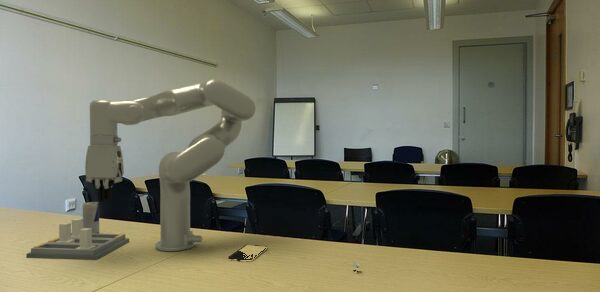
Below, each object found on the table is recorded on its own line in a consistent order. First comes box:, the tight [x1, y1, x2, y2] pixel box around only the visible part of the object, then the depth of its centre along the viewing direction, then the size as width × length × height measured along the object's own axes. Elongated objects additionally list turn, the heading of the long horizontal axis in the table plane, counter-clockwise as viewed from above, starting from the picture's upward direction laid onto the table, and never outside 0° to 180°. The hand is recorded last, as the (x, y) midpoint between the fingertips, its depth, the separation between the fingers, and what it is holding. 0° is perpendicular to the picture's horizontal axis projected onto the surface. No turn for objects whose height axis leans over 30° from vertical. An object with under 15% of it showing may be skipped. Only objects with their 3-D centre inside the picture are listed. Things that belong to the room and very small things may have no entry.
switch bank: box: [25, 232, 130, 261], centre depth 131 cm, size 22×20×3 cm
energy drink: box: [82, 201, 100, 234], centre depth 148 cm, size 5×5×12 cm
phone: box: [227, 244, 268, 261], centre depth 128 cm, size 8×1×15 cm
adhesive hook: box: [352, 261, 361, 268], centre depth 112 cm, size 3×3×3 cm
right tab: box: [71, 218, 83, 237], centre depth 138 cm, size 4×3×7 cm
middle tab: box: [56, 222, 75, 243], centre depth 131 cm, size 4×3×7 cm
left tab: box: [76, 228, 96, 249], centre depth 124 cm, size 4×3×7 cm
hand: (104, 200), depth 123 cm, fingers closed
